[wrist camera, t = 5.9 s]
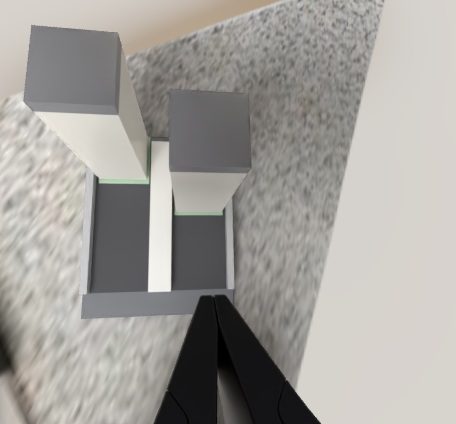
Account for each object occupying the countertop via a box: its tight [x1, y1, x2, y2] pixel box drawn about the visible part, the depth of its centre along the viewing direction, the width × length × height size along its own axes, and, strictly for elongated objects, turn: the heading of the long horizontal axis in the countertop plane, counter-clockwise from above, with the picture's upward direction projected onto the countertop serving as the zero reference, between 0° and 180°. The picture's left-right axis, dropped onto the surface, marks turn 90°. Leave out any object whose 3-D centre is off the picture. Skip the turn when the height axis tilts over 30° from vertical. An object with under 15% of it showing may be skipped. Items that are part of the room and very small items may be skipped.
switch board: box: [79, 136, 234, 319], centre depth 23 cm, size 14×11×2 cm
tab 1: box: [23, 25, 148, 180], centre depth 18 cm, size 4×4×11 cm
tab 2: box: [169, 89, 251, 212], centre depth 18 cm, size 4×4×11 cm
